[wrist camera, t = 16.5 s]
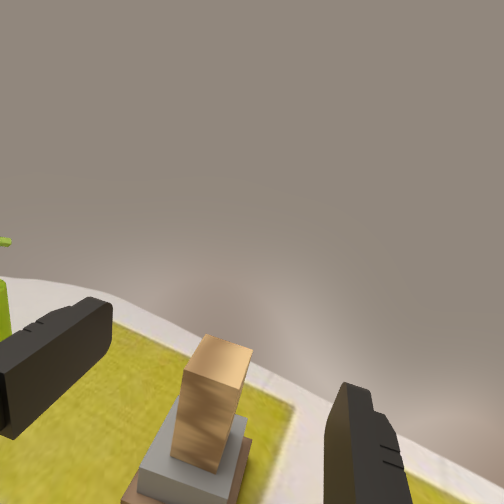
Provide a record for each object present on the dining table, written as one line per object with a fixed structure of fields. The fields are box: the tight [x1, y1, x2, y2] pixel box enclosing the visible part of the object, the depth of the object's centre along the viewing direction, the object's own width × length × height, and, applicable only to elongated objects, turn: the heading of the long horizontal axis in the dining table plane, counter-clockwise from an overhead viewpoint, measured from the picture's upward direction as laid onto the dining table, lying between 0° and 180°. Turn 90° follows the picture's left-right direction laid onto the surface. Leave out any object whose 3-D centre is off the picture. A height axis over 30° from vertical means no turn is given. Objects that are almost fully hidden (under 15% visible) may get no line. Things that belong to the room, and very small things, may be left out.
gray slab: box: [136, 395, 248, 504], centre depth 33 cm, size 9×9×4 cm
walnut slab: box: [121, 436, 252, 504], centre depth 35 cm, size 11×11×4 cm
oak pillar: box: [170, 334, 253, 475], centre depth 30 cm, size 5×5×12 cm
